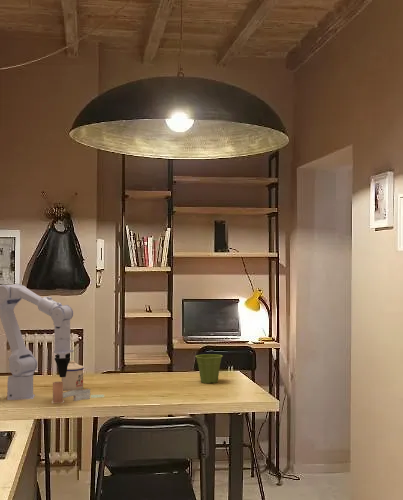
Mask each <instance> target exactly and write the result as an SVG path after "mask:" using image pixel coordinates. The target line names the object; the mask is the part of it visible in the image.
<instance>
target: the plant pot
mask: <svg viewBox="0 0 403 500" xmlns="http://www.w3.org/2000/svg"><path fill="white" fill-rule="evenodd" d="M223 357H224V355H222V354H213V353H212V354H211V353H208V354H205V353H204V354H197V355H195V359H196V363H197V367H198V370H199V373H198V374H199V379H200V382H201V383H202V384H211V383H213V384H216V383H218V382H219V377H220V376H219V375H220V368H221V363H222V358H223Z"/></svg>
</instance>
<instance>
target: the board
mask: <svg viewBox="0 0 403 500" xmlns="http://www.w3.org/2000/svg"><path fill="white" fill-rule="evenodd" d="M95 398H96V399H97V398H99V399H100V398H105V394H90V399H95ZM63 403H65V399H63V402H59V403H58V404H63ZM51 404H55V403H54V402H53V400H51Z"/></svg>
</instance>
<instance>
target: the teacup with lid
mask: <svg viewBox="0 0 403 500" xmlns="http://www.w3.org/2000/svg"><path fill="white" fill-rule="evenodd" d="M61 382H63V392H67V391H71V390H84V365H80V364H78V363H77V362H76V361H75V360H70V361H69V363H68V367H67V373H66V377H61Z"/></svg>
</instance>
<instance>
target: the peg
mask: <svg viewBox="0 0 403 500" xmlns="http://www.w3.org/2000/svg"><path fill="white" fill-rule="evenodd" d="M63 392H64V391H63V382H62V381H53V382H52V401H53V402H54V403H53V404H60V403H59V402H63V400H64V398H63Z"/></svg>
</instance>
